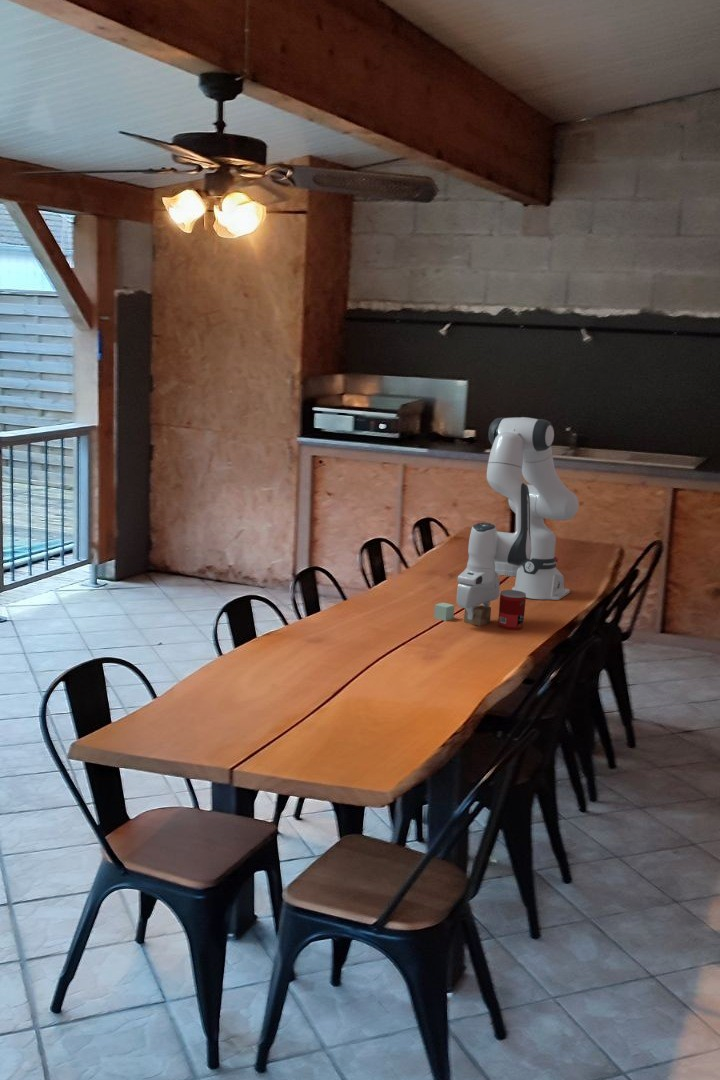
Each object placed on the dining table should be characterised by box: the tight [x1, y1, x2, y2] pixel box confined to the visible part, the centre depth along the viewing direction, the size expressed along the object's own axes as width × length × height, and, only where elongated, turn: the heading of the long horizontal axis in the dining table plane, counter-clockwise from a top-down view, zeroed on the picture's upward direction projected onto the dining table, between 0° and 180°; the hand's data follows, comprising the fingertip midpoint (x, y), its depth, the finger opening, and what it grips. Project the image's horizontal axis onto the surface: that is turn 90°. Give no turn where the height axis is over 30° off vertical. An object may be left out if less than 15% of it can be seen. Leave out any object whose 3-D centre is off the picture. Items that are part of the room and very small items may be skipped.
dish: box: [494, 561, 521, 577], centre depth 418 cm, size 22×22×5 cm
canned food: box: [497, 589, 527, 631], centre depth 335 cm, size 8×8×11 cm
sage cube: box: [433, 602, 455, 622], centre depth 341 cm, size 4×4×4 cm
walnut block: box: [463, 604, 492, 627], centre depth 338 cm, size 6×6×5 cm
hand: (477, 617), depth 338 cm, fingers closed on walnut block, 6 cm apart
